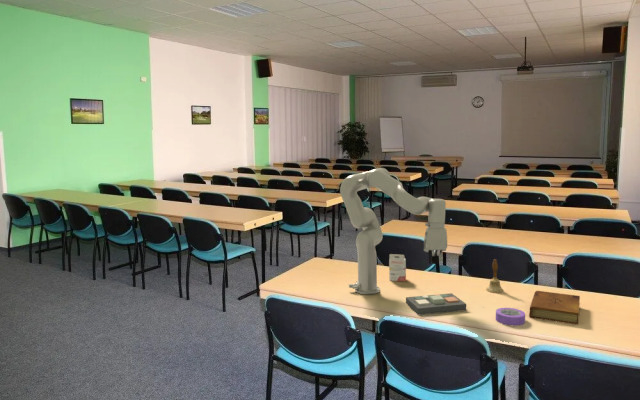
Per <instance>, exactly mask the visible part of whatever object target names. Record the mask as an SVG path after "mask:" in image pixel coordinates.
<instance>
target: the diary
mask: <svg viewBox="0 0 640 400" xmlns="http://www.w3.org/2000/svg"><path fill="white" fill-rule="evenodd" d="M580 299H581V297H580V295H576V294H575V295H574V294H568V293H567V294H566V293H559V292H551V291H550V292H549V291H543V290H536V291H535V292H534V294H533V297H532V299H531V303H530V306H529V318H531V319H537V320H544V321H545V320H546V321H551V322H556V321H557V323H563V322H564V323H563V324H570V323H571V324H570V325H576V324H578V325H579V316H580V302H581V301H580Z"/></svg>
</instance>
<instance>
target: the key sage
mask: <svg viewBox="0 0 640 400" xmlns="http://www.w3.org/2000/svg"><path fill="white" fill-rule="evenodd" d="M435 295H436V296H430V298H429V301H430V302H431V303H432V304H443V303H444V298H443V297H441V296H440V295H438V294H435Z"/></svg>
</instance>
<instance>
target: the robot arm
mask: <svg viewBox="0 0 640 400" xmlns="http://www.w3.org/2000/svg"><path fill="white" fill-rule="evenodd" d="M390 174H391V173H390V171H388V170H387V169H386V168H384V167H380V168H379V167H377V168H374V169H371V170H369V171H368V170H367V171H365V172H360V173H354V174H351V175H348V176H347V177H345V178H344V179H343V180H342V182H341V184H340V187H339V193H340V196H341V200H342V202H343V203H344V206H345V208H346V213H347V215H348V217H349V221H350V223H351V225H352V226H353V228H355V229H362V230H361V231H360V232H358V234H357V236H356V239H355V245H356V252H357V281H356V282H355V283H349V284H348V288H350V289H354V291H355V293H358V294H360V295H367V296H368V295H376V294H378V293H380V291H381V288H380V286H378V285H377V284H378V282H377V281H378V280H377V279H378V278H377V277H378V276H377V274H378V273H377V272H378V271H377V270H378V267H377V265H378V264H377V260H378V259H377V257H378V256H377V251H376V246H377V245H379V244H380V243H381V242H382V241H383V238H384V237H383V236H384V235H383V230H382V229H381V225H380V223H379V220H378V217H377V215H376V213H375V212H374V211H373V209H371V208H369V207H366V206H365V207H364V205H363V202H362V199H361V198H360V196H359V195H358V192H359V191H363V190H366V189H370V188H375V189H377V190H379V191H380V192H382V193H384V194H385V195H387V196H389V197H391V199H392V200H393V201H394V202H395V203H396V204H397V205H398V206H399V207H401V208H402V209H403V210H405V211H406V212H408V213H410V214H413V215H415V216H416V215H417V216H420V215H422V214H424V213H428V217H427V219H428V221H427V222H425V226H426V229H425V232H424V238H423V251H424V252H425V253H429V254H430V262H431V264H433V265H438V262H439V256H440V255H441V254H442V253H443V252H446V251H447V249H448V233H447V231H448V230H447V228H446V226H445V224H446V204H447V202H446V200H445V199H442V198H431V197H428V196H419V197H415V196H413V195H411V194H410V193H408V192H407V191H406V190H405V189H404V186H403V184H402V182H401V181H399V180H398V179H396V178H394V177H392V175H390Z"/></svg>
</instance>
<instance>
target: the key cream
mask: <svg viewBox="0 0 640 400" xmlns="http://www.w3.org/2000/svg"><path fill="white" fill-rule="evenodd" d="M415 303H416V304H417V305H418V306H421V305H430V303H429V302H428V301H427V300H426V299H422V300H415Z"/></svg>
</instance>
